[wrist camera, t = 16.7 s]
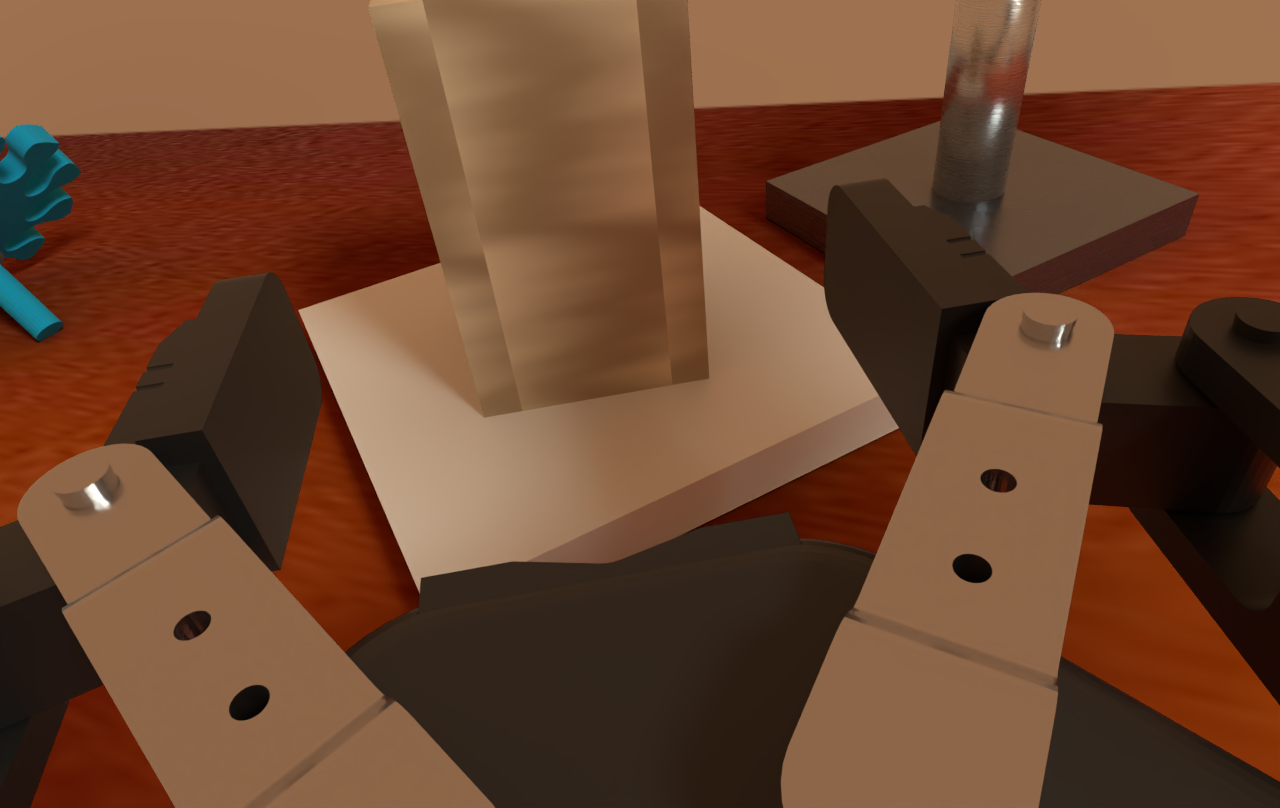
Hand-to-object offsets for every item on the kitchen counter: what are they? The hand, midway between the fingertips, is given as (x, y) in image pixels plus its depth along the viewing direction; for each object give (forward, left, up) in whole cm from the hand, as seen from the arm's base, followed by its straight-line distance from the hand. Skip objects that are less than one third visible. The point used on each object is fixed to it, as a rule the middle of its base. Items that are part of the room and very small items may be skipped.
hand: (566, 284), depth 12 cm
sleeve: (-3, -9, -7) cm, 12 cm away
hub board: (-3, -9, -9) cm, 13 cm away
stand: (-18, -9, -9) cm, 22 cm away
